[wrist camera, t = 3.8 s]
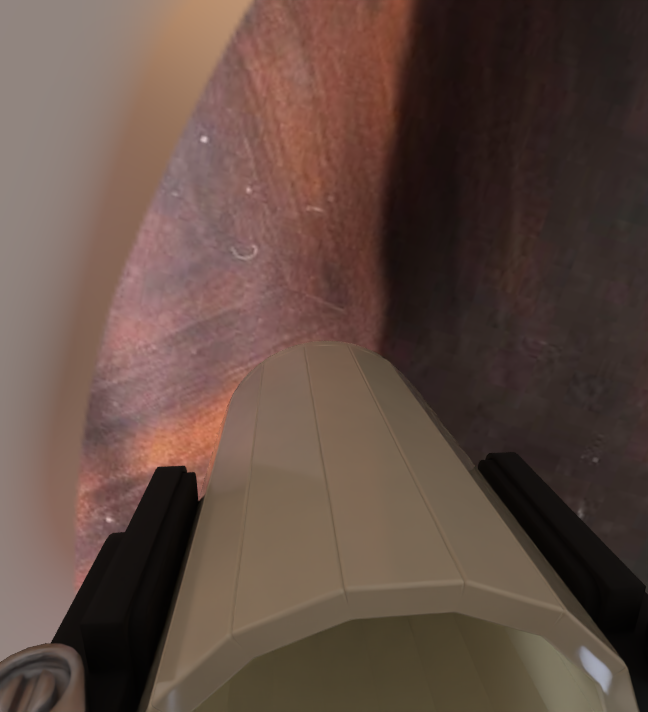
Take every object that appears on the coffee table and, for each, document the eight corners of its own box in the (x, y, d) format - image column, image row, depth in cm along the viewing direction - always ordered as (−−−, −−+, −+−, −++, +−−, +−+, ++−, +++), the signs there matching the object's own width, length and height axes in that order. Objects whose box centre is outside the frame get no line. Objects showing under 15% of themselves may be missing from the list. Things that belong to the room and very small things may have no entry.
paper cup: (215, 342, 13) (80, 605, 4) (429, 338, 13) (698, 566, 5) (228, 528, 15) (150, 980, 6) (416, 518, 15) (594, 922, 6)
